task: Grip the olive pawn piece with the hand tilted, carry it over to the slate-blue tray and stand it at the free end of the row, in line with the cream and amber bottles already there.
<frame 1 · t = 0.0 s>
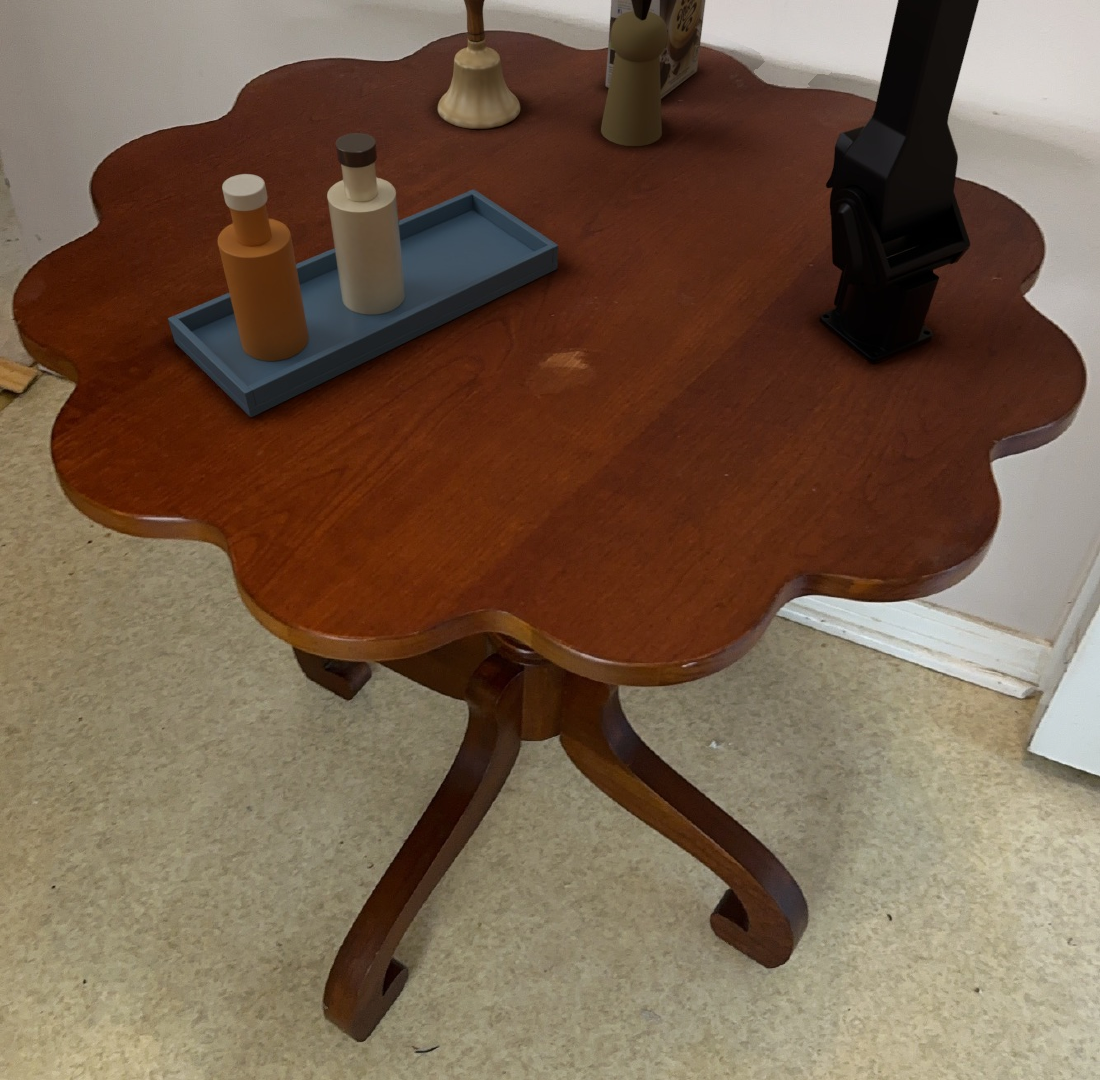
hand: (685, 7, 92), 15 cm above the table, tool pointing down, fingers open, 9 cm apart
cream bottle: (373, 296, 87), point 1 cm above the table, touching tray
hand bell: (479, 111, 110), on the table
olive pawn piece: (631, 132, 107), on the table
amber bottle: (275, 340, 83), point 1 cm above the table, touching tray
tray: (374, 304, 87), on the table
coffee box: (652, 81, 115), on the table
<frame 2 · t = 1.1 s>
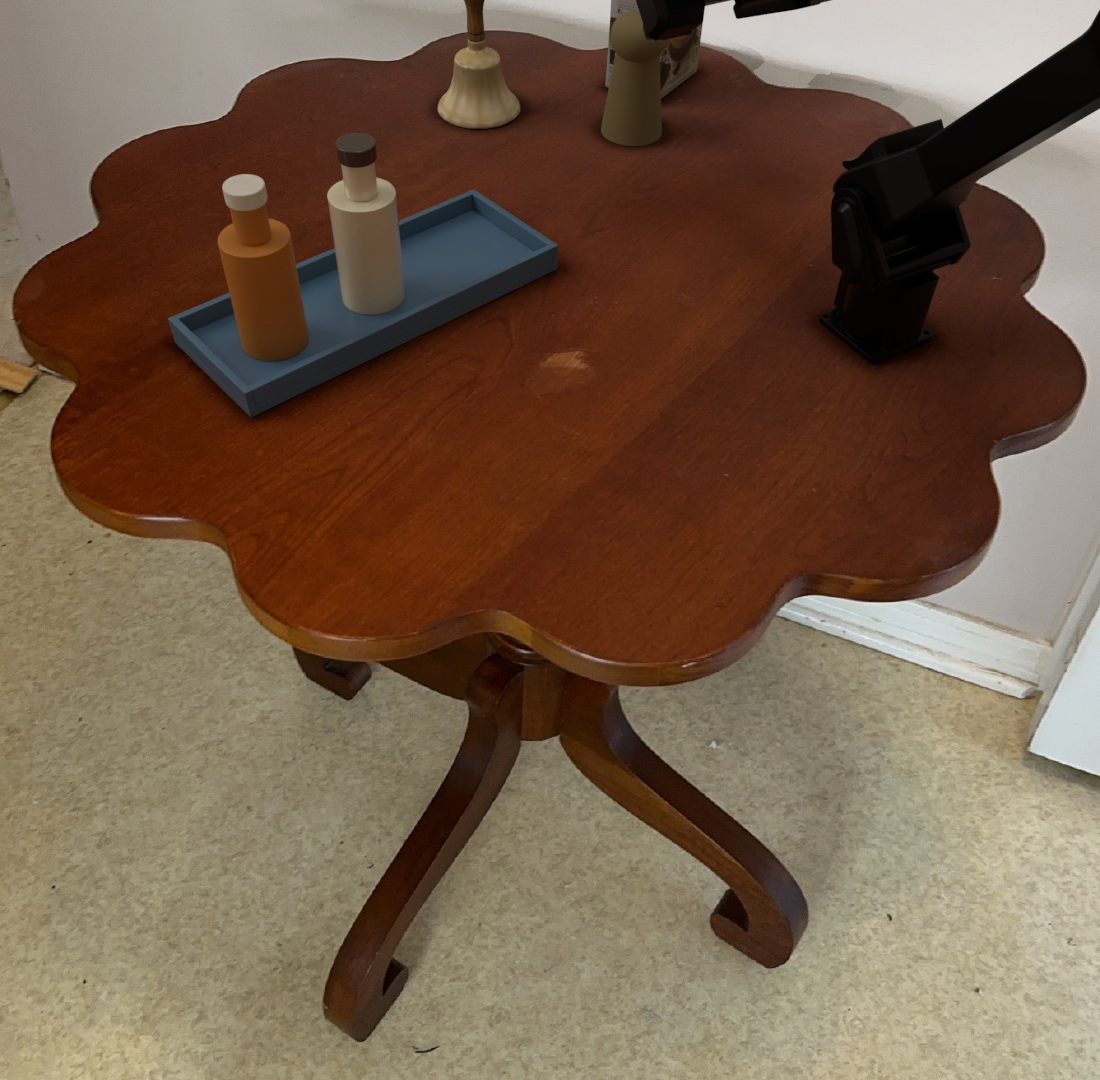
hand: (691, 22, 93), 13 cm above the table, tool tilted 45°, fingers open, 9 cm apart
nothing on the table moved.
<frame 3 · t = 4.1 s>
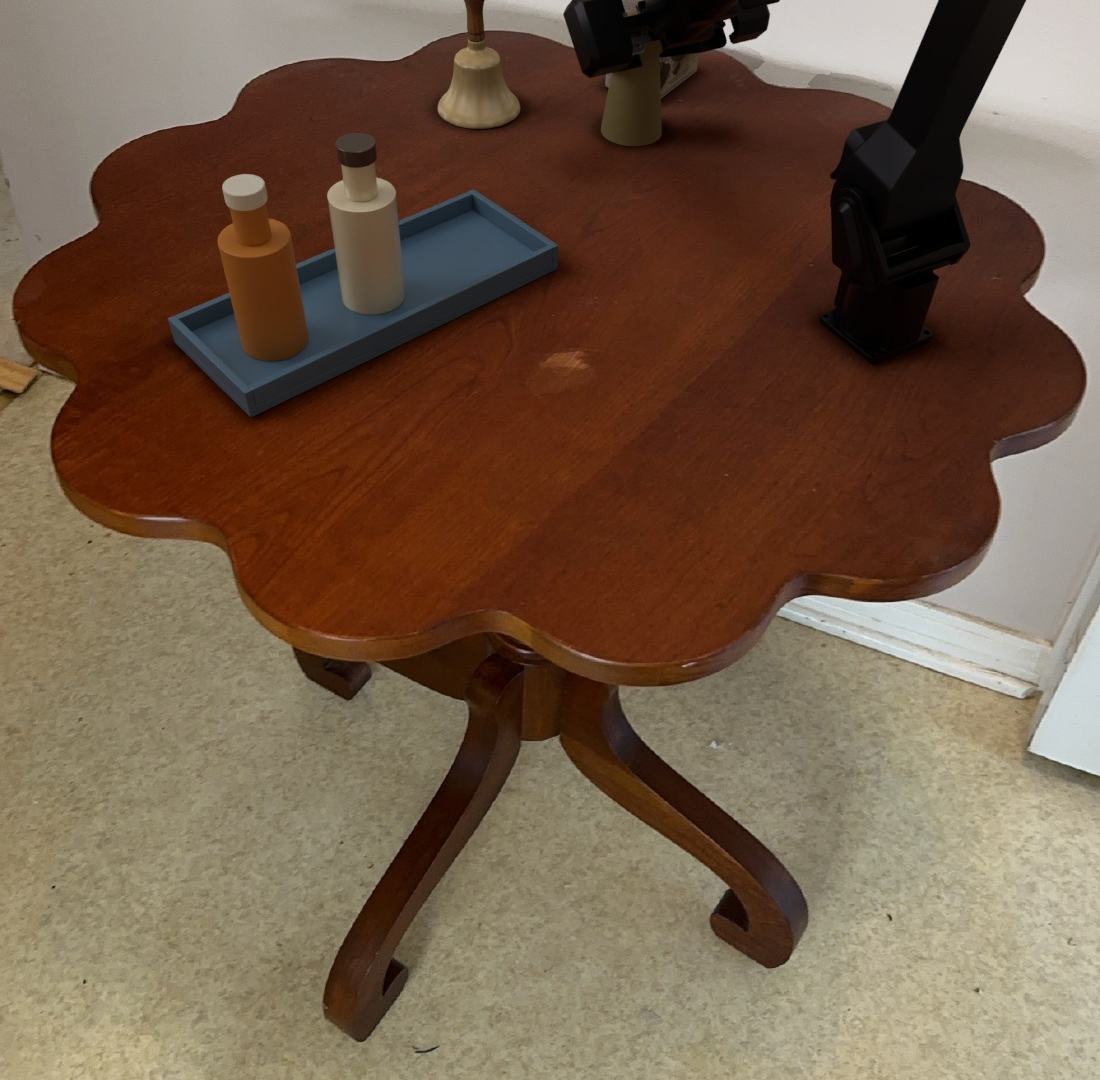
hand: (629, 58, 103), 7 cm above the table, tool tilted 45°, fingers closed on olive pawn piece, 5 cm apart
olive pawn piece: (631, 132, 107), on the table, touching gripper
everything else where it was.
when the fingers open (7 cm above the table, at t = 13.1 s): olive pawn piece stays where it is, resting on tray.
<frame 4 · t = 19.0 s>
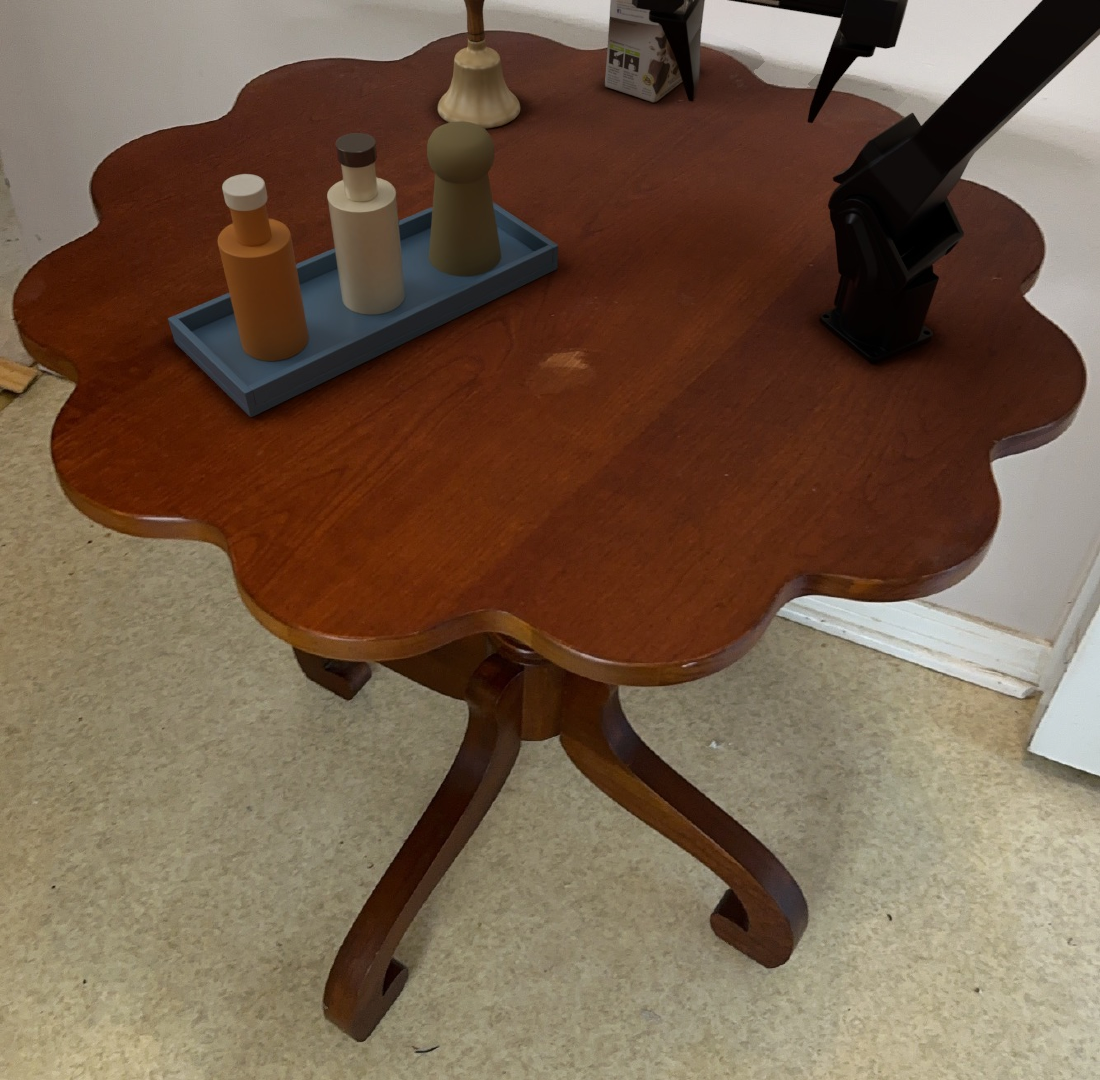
hand: (750, 109, 83), 13 cm above the table, tool pointing down, fingers open, 9 cm apart
olive pawn piece: (465, 257, 91), point 1 cm above the table, touching tray
everything else where it was.
at the end: olive pawn piece 0.2 cm from the target spot in the tray, point 0.6 cm above the tray's base; olive pawn piece tilted 0°; olive pawn piece 9.1 cm from the cream bottle (horizontally) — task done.
